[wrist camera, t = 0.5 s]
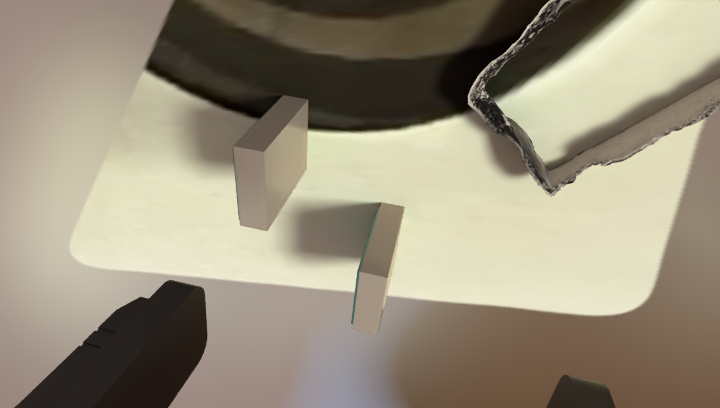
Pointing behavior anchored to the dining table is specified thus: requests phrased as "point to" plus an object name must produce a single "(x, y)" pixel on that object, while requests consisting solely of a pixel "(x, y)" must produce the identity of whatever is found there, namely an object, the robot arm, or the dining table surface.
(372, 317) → the beige rectangular block
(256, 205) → the beige flat slab
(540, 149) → the dining table surface
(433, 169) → the dining table surface
